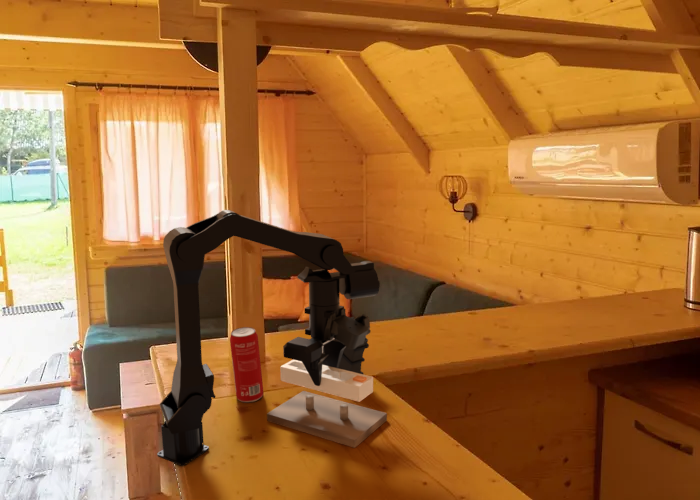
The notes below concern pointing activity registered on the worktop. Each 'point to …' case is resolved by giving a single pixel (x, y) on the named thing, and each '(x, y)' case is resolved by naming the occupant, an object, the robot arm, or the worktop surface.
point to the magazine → (351, 358)
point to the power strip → (329, 380)
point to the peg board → (328, 418)
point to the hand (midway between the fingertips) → (325, 380)
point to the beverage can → (246, 364)
